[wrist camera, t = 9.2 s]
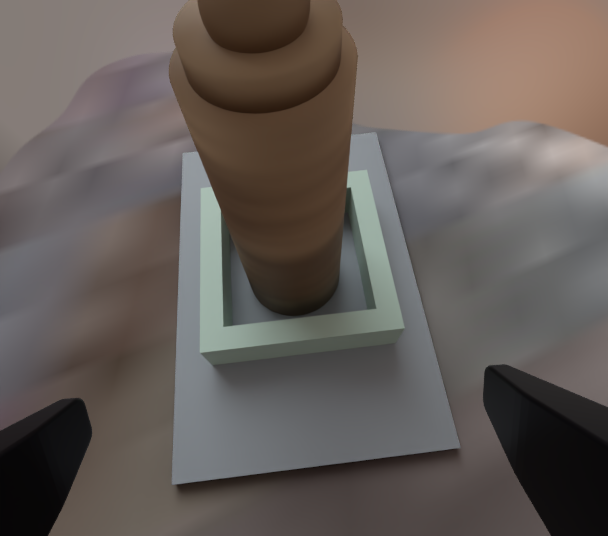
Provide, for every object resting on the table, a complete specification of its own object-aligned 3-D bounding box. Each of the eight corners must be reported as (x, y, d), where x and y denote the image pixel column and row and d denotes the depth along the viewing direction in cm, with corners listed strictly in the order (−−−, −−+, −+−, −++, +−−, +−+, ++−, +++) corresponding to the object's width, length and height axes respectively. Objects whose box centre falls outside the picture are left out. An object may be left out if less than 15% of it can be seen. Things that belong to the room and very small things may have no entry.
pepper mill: (357, 282, 20) (421, -59, 7) (281, 333, 19) (193, 45, 6) (305, 221, 22) (279, -141, 9) (233, 264, 21) (85, -72, 8)
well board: (456, 448, 17) (479, 444, 15) (175, 484, 17) (151, 486, 14) (374, 138, 25) (380, 103, 23) (185, 158, 25) (171, 125, 22)
